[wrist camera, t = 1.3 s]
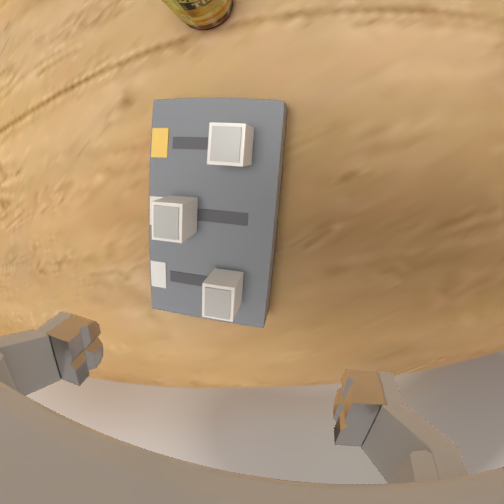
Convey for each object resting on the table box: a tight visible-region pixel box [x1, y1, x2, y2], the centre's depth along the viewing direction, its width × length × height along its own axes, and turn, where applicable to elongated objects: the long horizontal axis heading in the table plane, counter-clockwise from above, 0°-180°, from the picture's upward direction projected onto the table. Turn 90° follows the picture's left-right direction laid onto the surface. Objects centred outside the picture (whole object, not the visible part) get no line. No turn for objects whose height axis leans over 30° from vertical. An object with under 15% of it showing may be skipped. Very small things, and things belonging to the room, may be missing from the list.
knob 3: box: [202, 268, 244, 322], centre depth 31 cm, size 3×4×4 cm
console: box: [149, 98, 287, 328], centre depth 33 cm, size 13×23×4 cm, turn 176°
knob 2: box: [207, 122, 254, 167], centre depth 27 cm, size 3×4×4 cm
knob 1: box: [152, 195, 198, 243], centre depth 29 cm, size 3×4×4 cm
